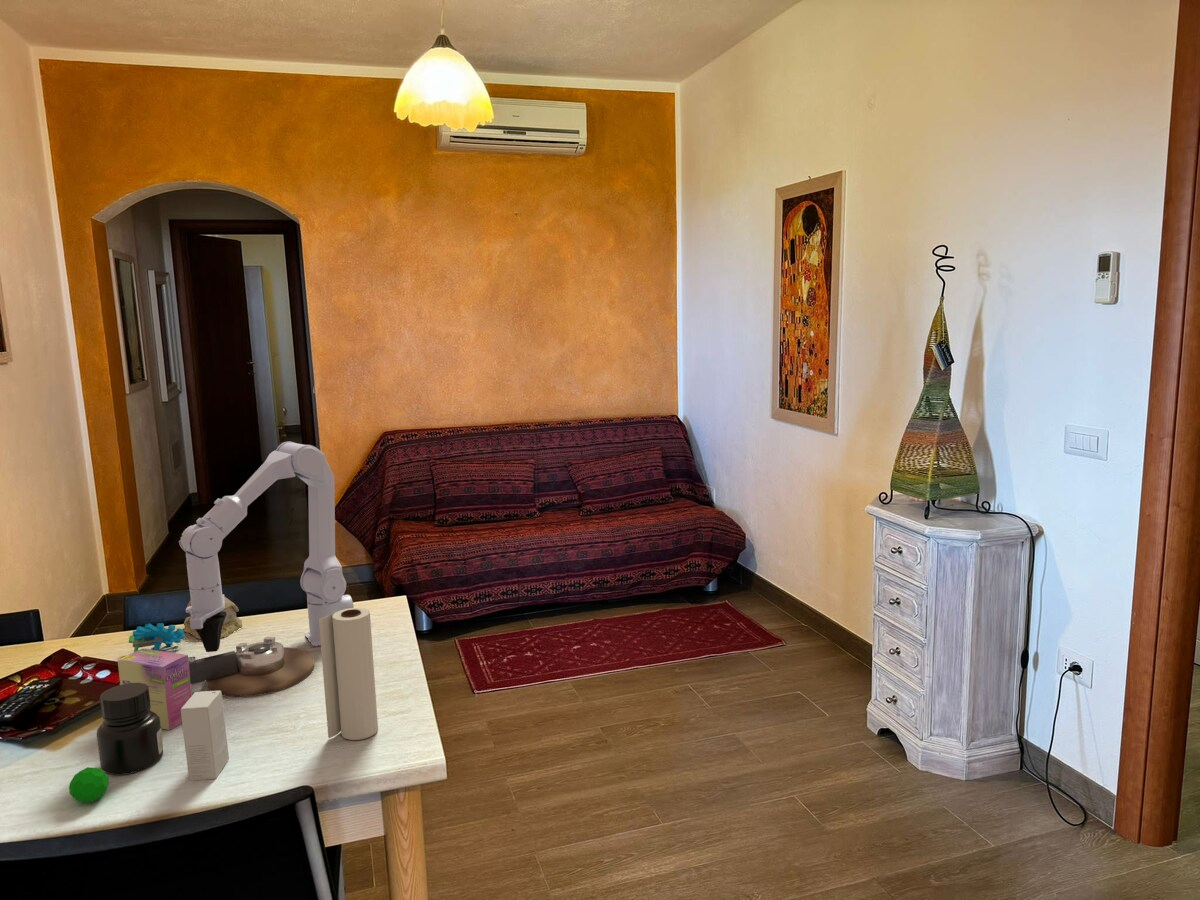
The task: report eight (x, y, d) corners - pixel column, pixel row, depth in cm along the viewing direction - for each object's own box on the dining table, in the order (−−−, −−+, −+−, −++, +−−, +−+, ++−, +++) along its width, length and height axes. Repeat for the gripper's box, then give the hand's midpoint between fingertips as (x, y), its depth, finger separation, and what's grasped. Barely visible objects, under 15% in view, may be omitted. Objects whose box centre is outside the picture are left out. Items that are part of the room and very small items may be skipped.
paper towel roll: (384, 725, 147) (376, 607, 143) (367, 742, 141) (359, 619, 137) (346, 722, 148) (337, 605, 145) (328, 739, 142) (318, 617, 139)
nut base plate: (301, 646, 183) (301, 639, 183) (325, 679, 166) (324, 671, 166) (200, 668, 172) (199, 661, 172) (214, 706, 156) (213, 697, 155)
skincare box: (202, 761, 136) (194, 691, 134) (229, 759, 137) (222, 689, 135) (187, 781, 130) (179, 708, 128) (216, 779, 131) (208, 706, 129)
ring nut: (277, 653, 175) (275, 630, 174) (290, 667, 168) (288, 643, 167) (182, 676, 165) (179, 652, 164) (191, 692, 158) (189, 667, 157)
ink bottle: (177, 754, 139) (170, 685, 137) (128, 781, 131) (119, 708, 129) (137, 743, 143) (129, 675, 141) (86, 769, 135) (77, 698, 133)
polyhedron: (85, 812, 123) (81, 782, 122) (63, 805, 125) (59, 775, 124) (117, 794, 127) (114, 765, 126) (96, 787, 129) (92, 758, 128)
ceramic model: (253, 626, 196) (250, 584, 195) (212, 643, 186) (208, 599, 185) (212, 617, 203) (208, 577, 201) (170, 634, 193) (165, 591, 191)
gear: (194, 635, 186) (171, 617, 178) (190, 661, 183) (166, 643, 175) (144, 644, 186) (119, 625, 178) (139, 669, 183) (113, 652, 175)
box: (195, 716, 152) (188, 653, 150) (169, 731, 147) (162, 666, 145) (150, 708, 155) (143, 647, 153) (123, 722, 150) (116, 659, 148)
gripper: (196, 575, 174) (203, 638, 176) (170, 598, 160) (178, 666, 162) (232, 573, 175) (239, 635, 177) (209, 596, 161) (216, 664, 163)
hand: (212, 650), depth 170 cm, fingers closed
